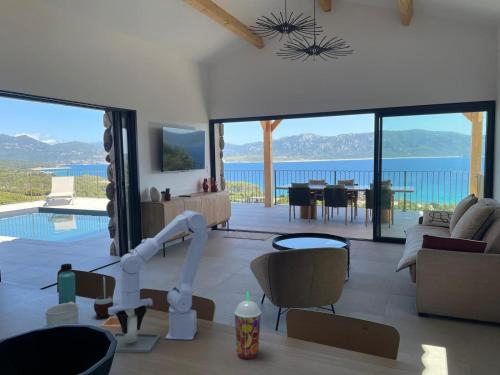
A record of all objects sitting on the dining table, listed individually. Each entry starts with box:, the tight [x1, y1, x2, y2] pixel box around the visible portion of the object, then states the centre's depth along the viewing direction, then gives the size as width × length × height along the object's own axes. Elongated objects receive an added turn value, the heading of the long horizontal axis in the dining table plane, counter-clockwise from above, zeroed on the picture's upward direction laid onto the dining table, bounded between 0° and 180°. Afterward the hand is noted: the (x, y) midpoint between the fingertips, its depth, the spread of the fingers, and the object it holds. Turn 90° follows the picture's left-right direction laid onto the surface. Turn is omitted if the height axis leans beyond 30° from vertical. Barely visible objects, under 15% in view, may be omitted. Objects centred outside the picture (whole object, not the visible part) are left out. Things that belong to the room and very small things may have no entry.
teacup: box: [44, 302, 79, 328], centre depth 141 cm, size 14×11×8 cm
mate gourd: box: [93, 276, 114, 320], centre depth 150 cm, size 8×8×15 cm
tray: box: [114, 332, 161, 354], centre depth 126 cm, size 16×12×2 cm
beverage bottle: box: [57, 263, 77, 304], centre depth 155 cm, size 6×7×20 cm
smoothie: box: [233, 291, 262, 360], centre depth 120 cm, size 8×8×20 cm
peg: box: [125, 313, 138, 343], centre depth 126 cm, size 4×4×8 cm
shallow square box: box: [99, 316, 123, 335], centre depth 139 cm, size 9×9×3 cm
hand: (131, 330), depth 126 cm, fingers closed on peg, 4 cm apart
